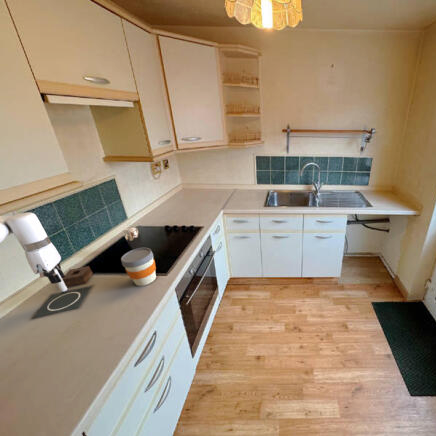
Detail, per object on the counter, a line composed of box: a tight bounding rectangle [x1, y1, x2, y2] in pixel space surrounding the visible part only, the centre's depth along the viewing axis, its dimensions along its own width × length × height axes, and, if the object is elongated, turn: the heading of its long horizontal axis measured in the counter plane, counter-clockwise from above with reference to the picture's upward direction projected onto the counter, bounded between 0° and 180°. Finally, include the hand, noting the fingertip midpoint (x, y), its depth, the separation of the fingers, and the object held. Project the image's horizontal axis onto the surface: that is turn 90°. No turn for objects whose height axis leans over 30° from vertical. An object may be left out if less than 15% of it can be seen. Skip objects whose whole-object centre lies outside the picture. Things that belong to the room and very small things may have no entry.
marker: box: [49, 268, 70, 294], centre depth 97 cm, size 2×2×12 cm
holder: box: [62, 265, 93, 288], centre depth 112 cm, size 8×8×5 cm
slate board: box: [32, 285, 92, 320], centre depth 100 cm, size 15×14×1 cm
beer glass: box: [123, 226, 144, 250], centre depth 132 cm, size 7×7×15 cm
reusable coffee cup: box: [120, 247, 157, 287], centre depth 109 cm, size 12×13×15 cm
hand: (58, 280), depth 97 cm, fingers closed on marker, 2 cm apart
